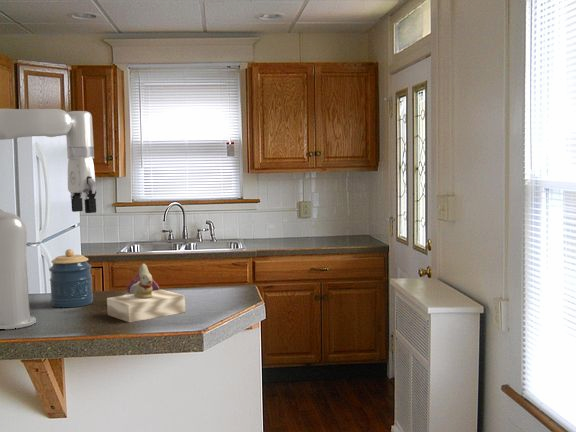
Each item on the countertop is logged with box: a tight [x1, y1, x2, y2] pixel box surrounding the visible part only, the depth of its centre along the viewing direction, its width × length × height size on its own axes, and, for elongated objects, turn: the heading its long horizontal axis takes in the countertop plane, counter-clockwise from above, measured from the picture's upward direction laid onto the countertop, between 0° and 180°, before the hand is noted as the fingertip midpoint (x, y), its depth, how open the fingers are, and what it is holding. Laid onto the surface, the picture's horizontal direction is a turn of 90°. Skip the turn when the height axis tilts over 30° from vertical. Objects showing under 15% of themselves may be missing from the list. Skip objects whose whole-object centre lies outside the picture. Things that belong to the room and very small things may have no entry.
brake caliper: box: [124, 271, 160, 295], centre depth 228 cm, size 11×11×12 cm
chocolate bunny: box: [134, 263, 153, 299], centre depth 213 cm, size 6×8×10 cm
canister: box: [48, 248, 94, 309], centre depth 231 cm, size 13×13×18 cm
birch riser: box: [106, 289, 186, 323], centre depth 214 cm, size 18×14×5 cm
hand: (84, 212), depth 214 cm, fingers open, 9 cm apart
